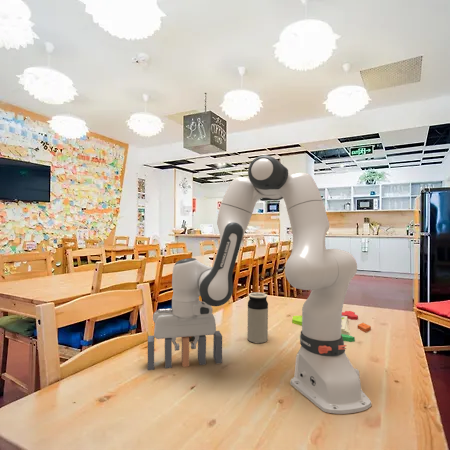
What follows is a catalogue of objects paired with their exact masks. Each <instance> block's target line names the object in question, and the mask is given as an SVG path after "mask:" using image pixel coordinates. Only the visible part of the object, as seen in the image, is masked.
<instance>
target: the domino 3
mask: <svg viewBox="0 0 450 450" xmlns="http://www.w3.org/2000/svg"><path fill="white" fill-rule="evenodd" d="M181 363H182V368H183V367H185V368H186V367H189V366H190V342H189V337H181Z"/></svg>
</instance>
